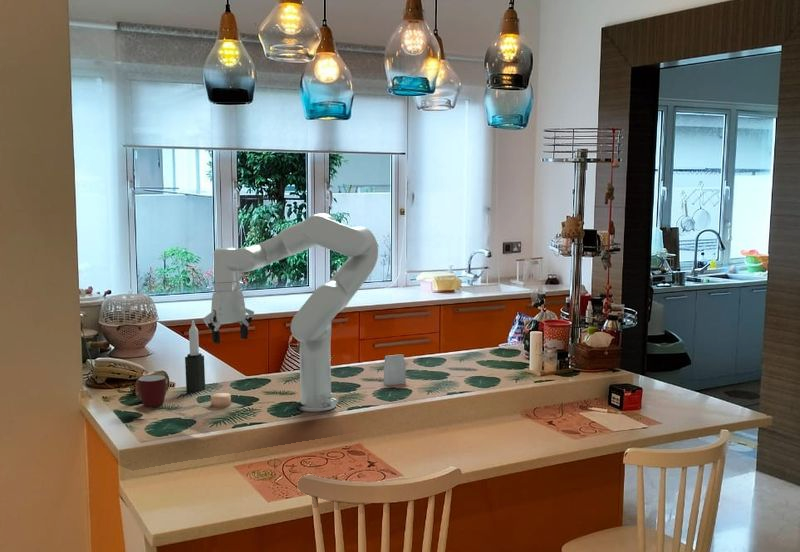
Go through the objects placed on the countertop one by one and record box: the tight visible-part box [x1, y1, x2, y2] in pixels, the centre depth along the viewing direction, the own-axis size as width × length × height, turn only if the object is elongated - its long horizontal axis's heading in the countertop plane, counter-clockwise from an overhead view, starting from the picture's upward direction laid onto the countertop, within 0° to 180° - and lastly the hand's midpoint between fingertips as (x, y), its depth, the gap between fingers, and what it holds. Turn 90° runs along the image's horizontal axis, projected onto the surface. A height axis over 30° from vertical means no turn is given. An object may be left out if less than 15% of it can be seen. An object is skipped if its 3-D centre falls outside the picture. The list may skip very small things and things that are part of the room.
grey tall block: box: [383, 353, 407, 386], centre depth 274 cm, size 4×7×10 cm, turn 111°
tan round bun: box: [210, 392, 232, 408], centre depth 243 cm, size 6×6×3 cm
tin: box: [134, 370, 170, 402], centre depth 258 cm, size 15×3×8 cm, turn 160°
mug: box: [138, 375, 166, 408], centre depth 245 cm, size 11×8×10 cm
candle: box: [184, 319, 206, 395], centre depth 262 cm, size 5×5×25 cm
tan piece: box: [170, 400, 245, 420], centre depth 240 cm, size 13×18×2 cm
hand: (230, 340), depth 248 cm, fingers open, 9 cm apart
